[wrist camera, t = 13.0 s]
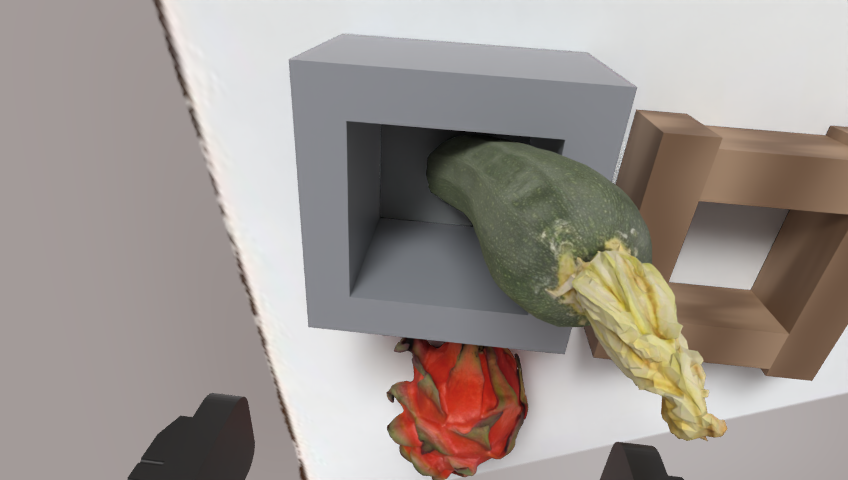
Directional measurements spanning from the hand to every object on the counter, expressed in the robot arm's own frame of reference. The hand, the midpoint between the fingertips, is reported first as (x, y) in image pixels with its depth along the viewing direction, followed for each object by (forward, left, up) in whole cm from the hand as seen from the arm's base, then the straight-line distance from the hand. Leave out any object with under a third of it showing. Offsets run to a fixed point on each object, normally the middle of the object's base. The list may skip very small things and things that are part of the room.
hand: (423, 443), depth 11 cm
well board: (-15, +3, -18) cm, 24 cm away
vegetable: (0, 0, -18) cm, 18 cm away
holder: (0, 0, -18) cm, 18 cm away
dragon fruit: (-2, +14, -19) cm, 23 cm away
